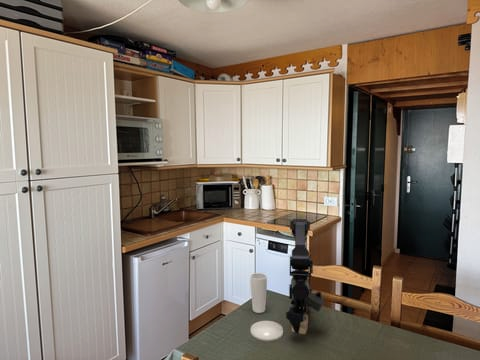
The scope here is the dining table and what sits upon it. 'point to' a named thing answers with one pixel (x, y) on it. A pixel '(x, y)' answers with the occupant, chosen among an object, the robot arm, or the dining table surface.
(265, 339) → the plate
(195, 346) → the dining table surface
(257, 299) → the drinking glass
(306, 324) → the oak block
